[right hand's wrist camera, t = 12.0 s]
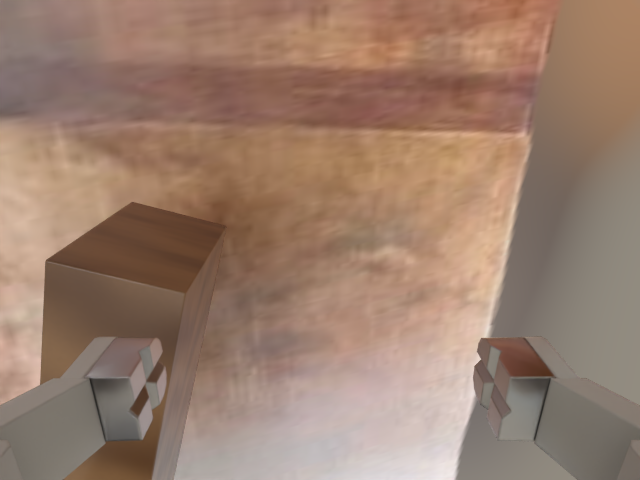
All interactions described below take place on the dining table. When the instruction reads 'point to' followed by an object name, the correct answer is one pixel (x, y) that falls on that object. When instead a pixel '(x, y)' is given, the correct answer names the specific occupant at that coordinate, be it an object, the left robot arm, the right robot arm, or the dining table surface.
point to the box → (135, 318)
